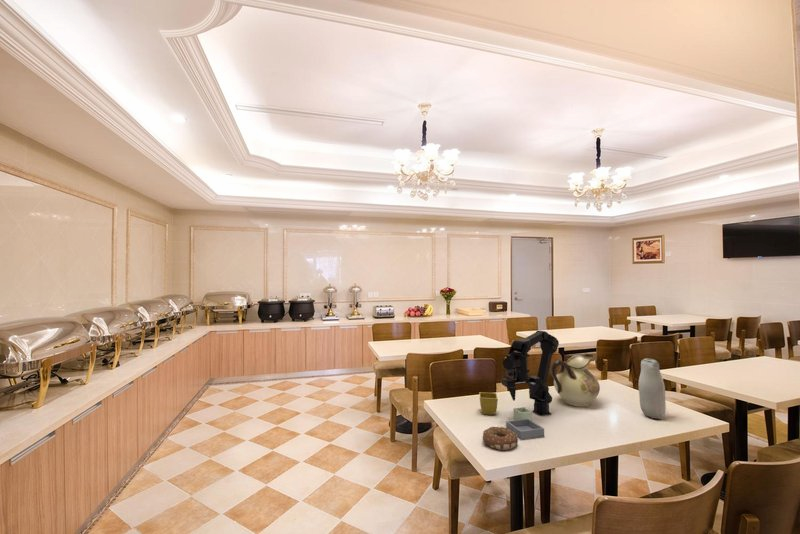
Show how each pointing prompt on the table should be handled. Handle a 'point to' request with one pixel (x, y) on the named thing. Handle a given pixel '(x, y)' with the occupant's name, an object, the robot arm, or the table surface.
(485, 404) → the flower pot
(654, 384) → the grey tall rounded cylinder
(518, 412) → the small crate
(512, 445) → the donut
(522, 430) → the big crate
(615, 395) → the table surface
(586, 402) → the pitcher
